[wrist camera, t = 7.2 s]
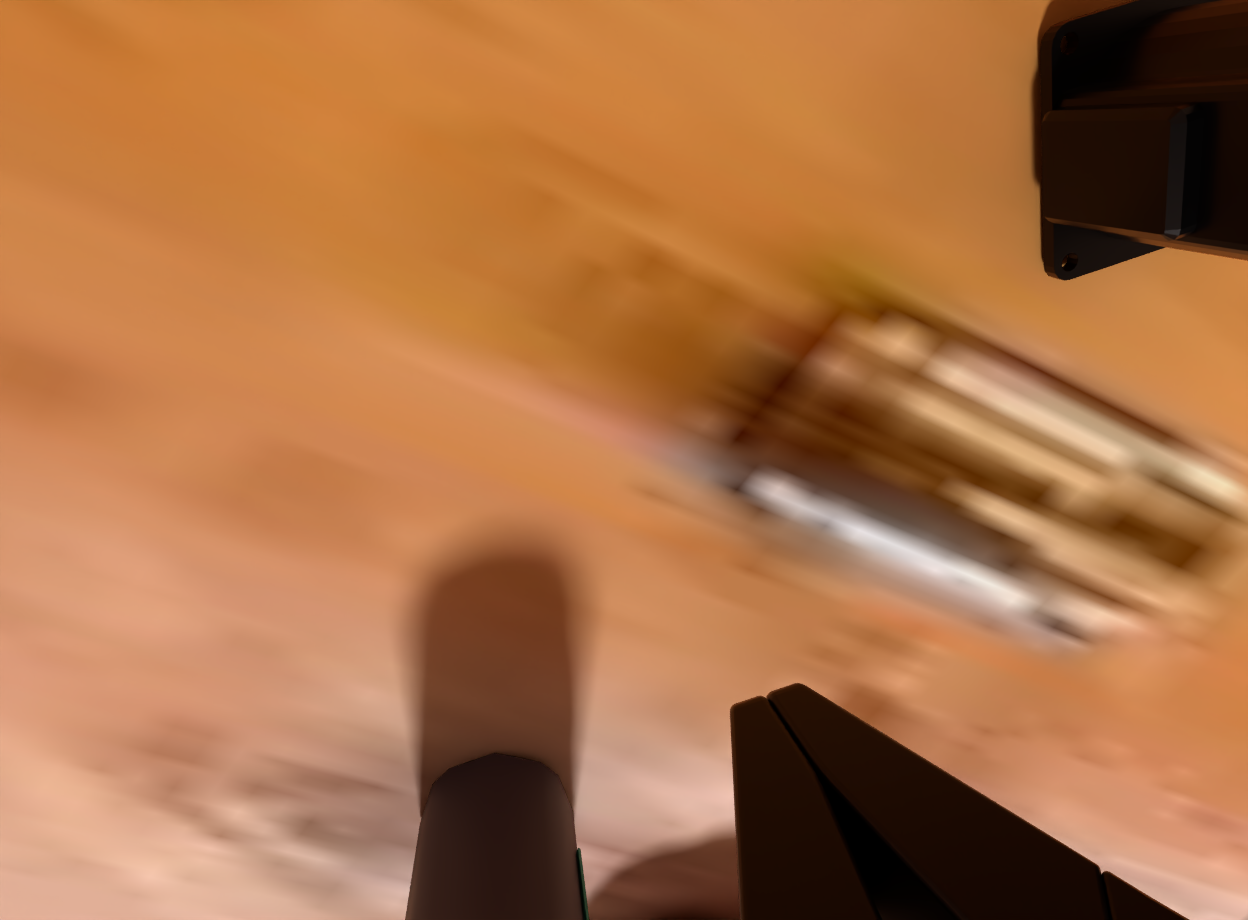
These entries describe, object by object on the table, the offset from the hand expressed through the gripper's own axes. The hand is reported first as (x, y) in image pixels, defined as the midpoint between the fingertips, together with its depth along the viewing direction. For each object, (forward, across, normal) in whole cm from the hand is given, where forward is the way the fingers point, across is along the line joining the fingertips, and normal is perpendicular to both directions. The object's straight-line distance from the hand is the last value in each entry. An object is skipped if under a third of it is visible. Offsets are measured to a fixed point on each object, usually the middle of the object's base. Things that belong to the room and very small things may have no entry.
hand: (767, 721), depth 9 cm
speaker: (+13, +7, +14) cm, 20 cm away
